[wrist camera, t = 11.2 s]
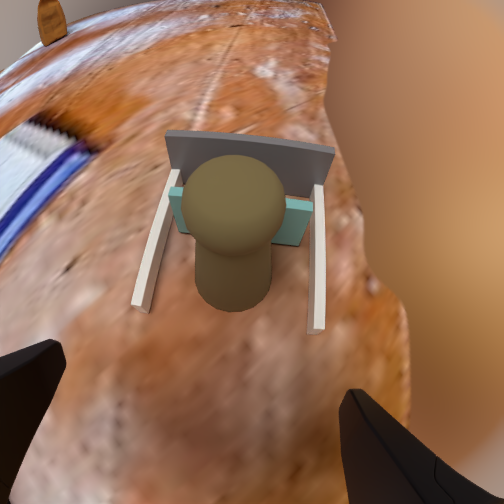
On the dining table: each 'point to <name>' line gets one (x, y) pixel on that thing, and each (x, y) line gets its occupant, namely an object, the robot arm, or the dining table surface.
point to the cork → (233, 229)
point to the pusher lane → (294, 182)
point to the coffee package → (51, 21)
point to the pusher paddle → (287, 234)
